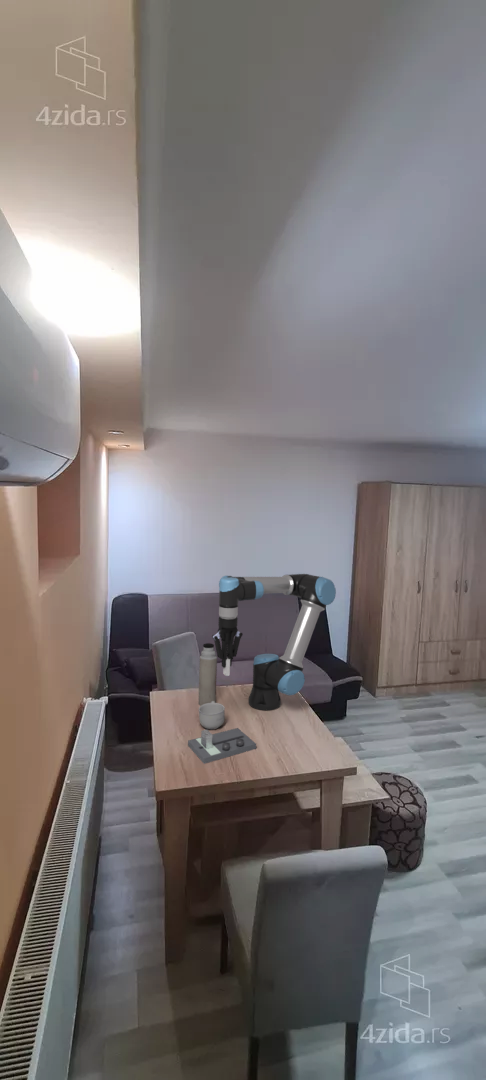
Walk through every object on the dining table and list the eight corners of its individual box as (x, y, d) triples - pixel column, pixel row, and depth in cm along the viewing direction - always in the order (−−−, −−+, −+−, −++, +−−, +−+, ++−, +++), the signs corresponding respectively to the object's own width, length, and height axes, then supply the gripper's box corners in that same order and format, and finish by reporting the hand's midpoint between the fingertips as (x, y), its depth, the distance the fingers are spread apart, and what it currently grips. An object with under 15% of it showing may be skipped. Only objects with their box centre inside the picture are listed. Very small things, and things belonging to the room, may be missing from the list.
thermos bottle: (216, 700, 218) (218, 642, 216) (215, 707, 210) (216, 647, 208) (199, 699, 218) (200, 641, 216) (197, 706, 210) (199, 646, 208)
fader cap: (206, 742, 175) (207, 729, 175) (212, 747, 171) (212, 734, 171) (201, 743, 174) (201, 730, 174) (206, 749, 170) (206, 735, 170)
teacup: (220, 734, 186) (221, 714, 186) (194, 730, 189) (195, 711, 188) (228, 718, 200) (229, 700, 199) (204, 715, 202) (204, 697, 202)
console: (237, 732, 188) (237, 723, 188) (256, 748, 176) (256, 739, 176) (187, 745, 177) (188, 735, 176) (203, 763, 165) (204, 753, 164)
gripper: (237, 613, 190) (235, 669, 192) (209, 616, 183) (207, 674, 185) (247, 617, 183) (245, 675, 185) (218, 620, 177) (216, 680, 179)
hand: (226, 674), depth 185 cm, fingers closed
